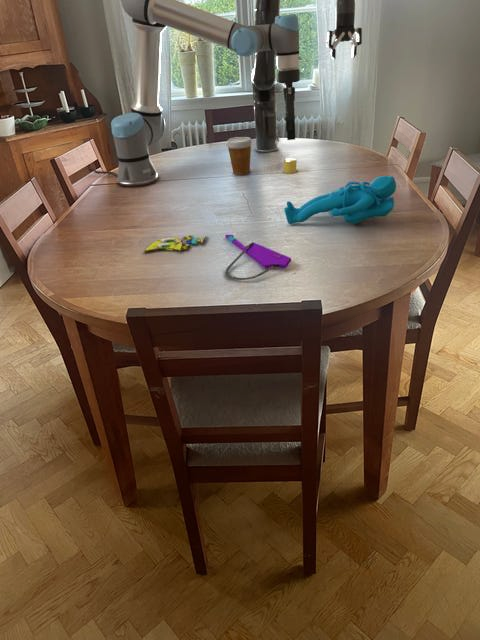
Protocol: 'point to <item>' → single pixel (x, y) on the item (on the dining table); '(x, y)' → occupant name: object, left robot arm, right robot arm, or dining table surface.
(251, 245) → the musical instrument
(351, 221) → the toy
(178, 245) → the toy
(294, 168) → the canister
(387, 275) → the dining table surface
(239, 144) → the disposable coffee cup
